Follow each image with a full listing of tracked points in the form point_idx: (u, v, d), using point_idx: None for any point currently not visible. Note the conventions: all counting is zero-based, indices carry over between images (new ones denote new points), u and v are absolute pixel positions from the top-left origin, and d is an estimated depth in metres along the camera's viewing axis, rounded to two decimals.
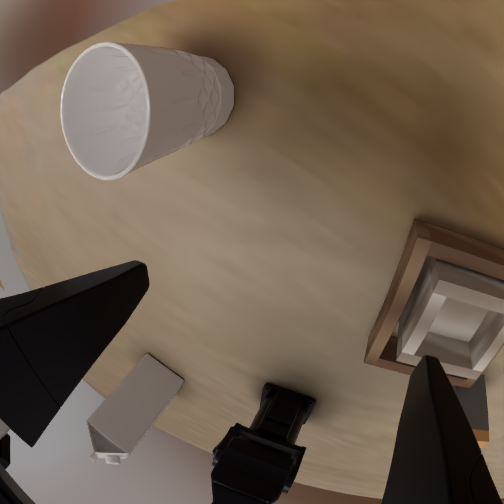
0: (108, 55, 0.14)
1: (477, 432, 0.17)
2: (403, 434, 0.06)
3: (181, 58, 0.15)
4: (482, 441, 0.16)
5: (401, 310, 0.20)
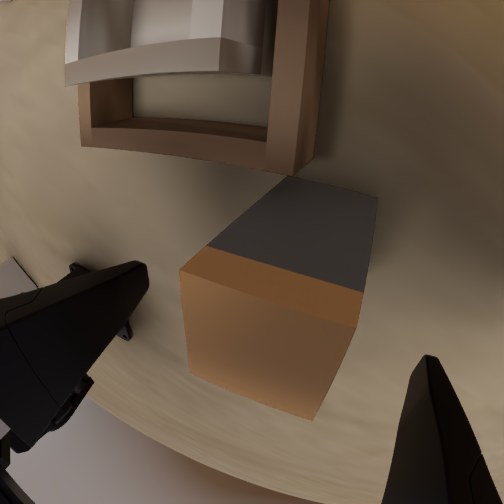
0: None
1: (299, 282, 0.07)
2: (403, 434, 0.06)
3: None
4: (318, 318, 0.06)
5: None
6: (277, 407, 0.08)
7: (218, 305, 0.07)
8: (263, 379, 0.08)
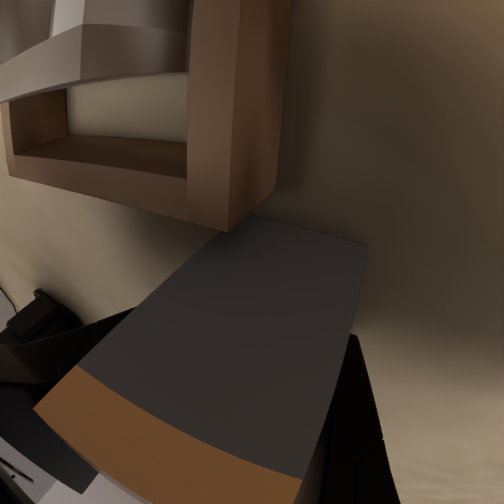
0: None
1: (192, 458, 0.03)
2: None
3: None
4: None
5: None
6: None
7: (87, 460, 0.03)
8: None
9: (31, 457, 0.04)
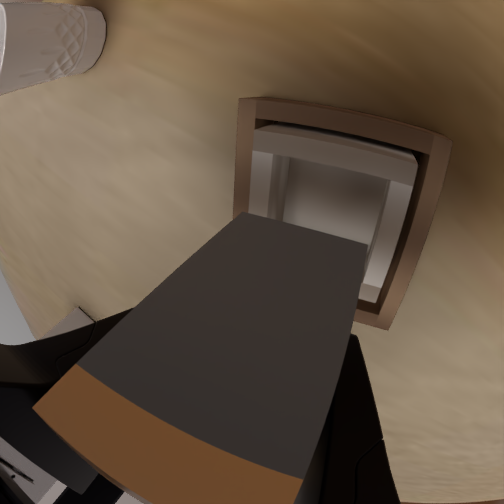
0: None
1: (191, 458, 0.03)
2: None
3: (49, 5, 0.12)
4: None
5: (247, 199, 0.17)
6: None
7: (87, 460, 0.03)
8: None
9: (31, 457, 0.04)
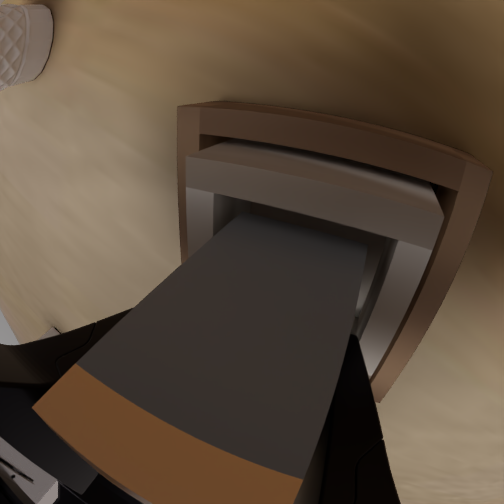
0: None
1: (191, 458, 0.03)
2: None
3: None
4: None
5: None
6: None
7: (86, 460, 0.03)
8: None
9: (31, 457, 0.04)
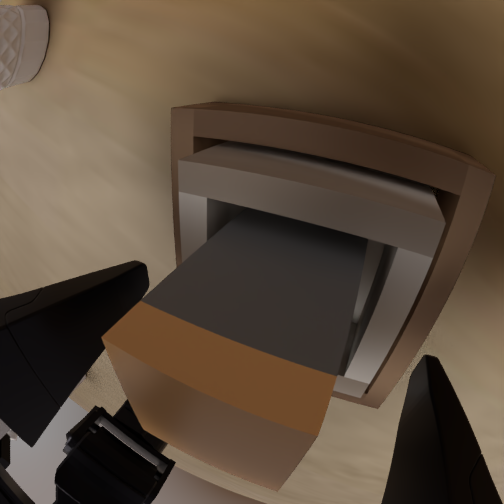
0: None
1: (249, 362, 0.05)
2: (403, 434, 0.06)
3: None
4: (267, 419, 0.04)
5: None
6: (237, 476, 0.06)
7: (149, 382, 0.05)
8: (216, 453, 0.06)
9: None
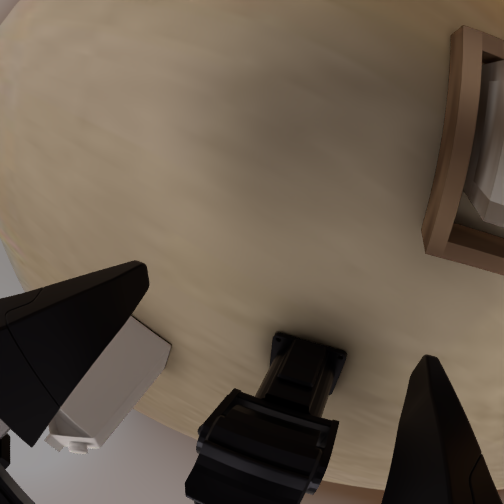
0: None
1: None
2: (403, 434, 0.06)
3: None
4: None
5: (471, 142, 0.11)
6: None
7: None
8: None
9: None
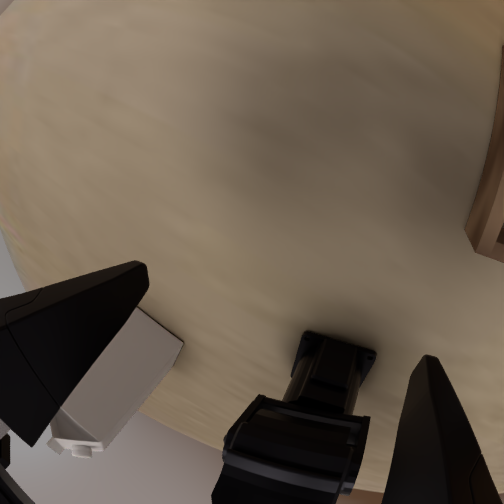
0: None
1: None
2: (403, 434, 0.06)
3: None
4: None
5: None
6: None
7: None
8: None
9: None
